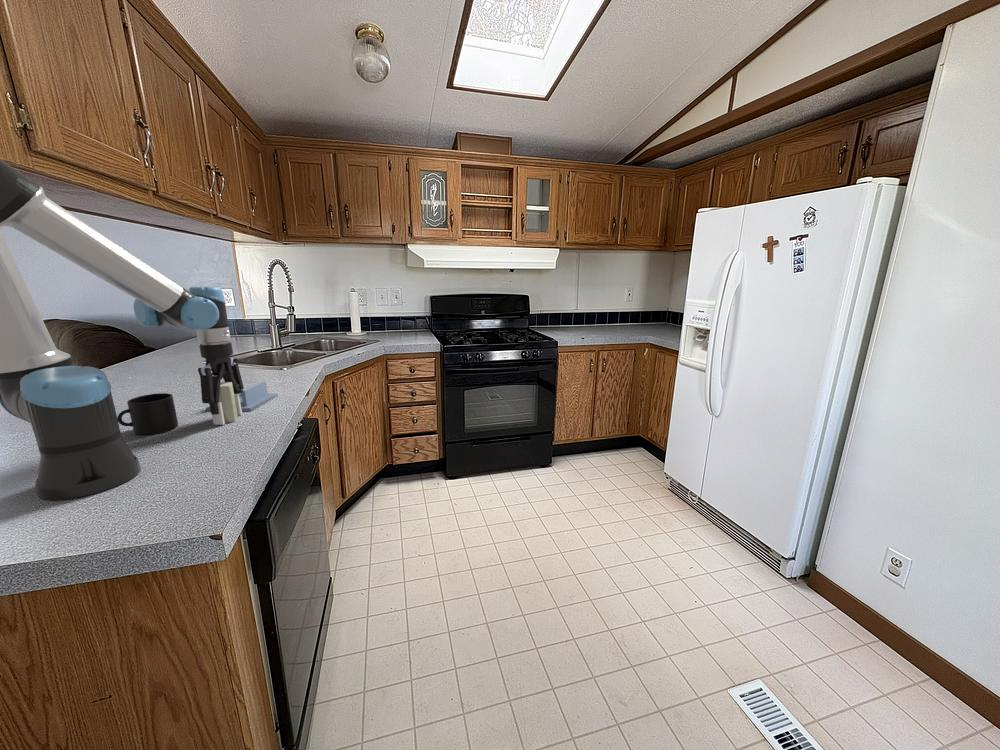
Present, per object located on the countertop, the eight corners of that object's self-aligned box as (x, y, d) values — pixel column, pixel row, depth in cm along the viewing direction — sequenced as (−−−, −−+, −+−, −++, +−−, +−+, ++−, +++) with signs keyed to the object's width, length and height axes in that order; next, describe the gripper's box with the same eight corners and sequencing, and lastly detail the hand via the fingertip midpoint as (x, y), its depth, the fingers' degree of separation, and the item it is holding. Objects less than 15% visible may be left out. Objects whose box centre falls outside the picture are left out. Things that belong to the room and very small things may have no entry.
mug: (119, 432, 109) (111, 400, 107) (174, 420, 118) (168, 391, 115) (123, 441, 103) (115, 408, 101) (181, 428, 111) (175, 397, 109)
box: (221, 418, 120) (215, 382, 117) (238, 416, 121) (232, 381, 119) (217, 424, 115) (211, 387, 112) (235, 422, 117) (229, 385, 114)
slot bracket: (251, 411, 126) (248, 392, 125) (206, 411, 126) (202, 392, 124) (277, 396, 142) (275, 379, 140) (237, 396, 141) (235, 379, 140)
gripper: (203, 349, 103) (218, 432, 108) (250, 337, 123) (260, 408, 128) (173, 349, 103) (190, 432, 108) (225, 337, 122) (237, 408, 128)
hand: (228, 419), depth 118 cm, fingers open, 7 cm apart
